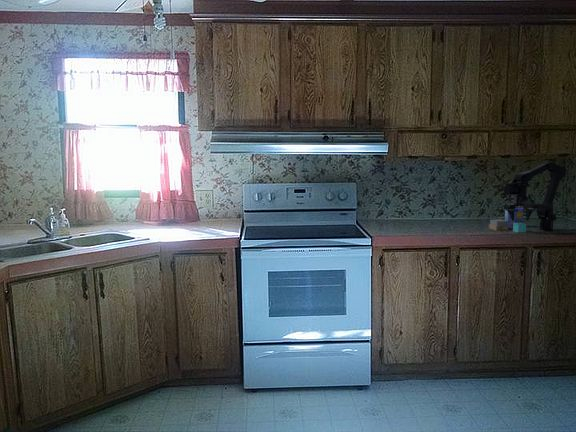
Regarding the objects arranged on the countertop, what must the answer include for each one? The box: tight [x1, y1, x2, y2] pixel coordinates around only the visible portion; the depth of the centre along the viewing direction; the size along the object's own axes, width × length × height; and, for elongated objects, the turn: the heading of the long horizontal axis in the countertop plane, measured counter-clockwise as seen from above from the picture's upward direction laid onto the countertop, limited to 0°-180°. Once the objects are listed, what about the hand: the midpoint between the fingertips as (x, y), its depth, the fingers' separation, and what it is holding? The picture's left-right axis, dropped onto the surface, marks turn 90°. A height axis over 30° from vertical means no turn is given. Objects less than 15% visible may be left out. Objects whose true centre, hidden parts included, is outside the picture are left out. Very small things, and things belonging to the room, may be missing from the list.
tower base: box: [488, 223, 509, 231], centre depth 304 cm, size 8×8×3 cm
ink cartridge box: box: [504, 203, 525, 228], centre depth 311 cm, size 10×6×14 cm, turn 86°
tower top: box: [489, 218, 508, 226], centre depth 304 cm, size 7×7×3 cm
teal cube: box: [512, 222, 527, 233], centre depth 294 cm, size 5×5×5 cm
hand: (520, 220), depth 294 cm, fingers open, 9 cm apart
